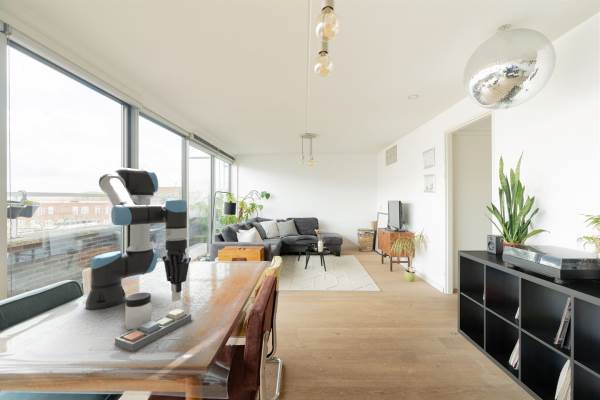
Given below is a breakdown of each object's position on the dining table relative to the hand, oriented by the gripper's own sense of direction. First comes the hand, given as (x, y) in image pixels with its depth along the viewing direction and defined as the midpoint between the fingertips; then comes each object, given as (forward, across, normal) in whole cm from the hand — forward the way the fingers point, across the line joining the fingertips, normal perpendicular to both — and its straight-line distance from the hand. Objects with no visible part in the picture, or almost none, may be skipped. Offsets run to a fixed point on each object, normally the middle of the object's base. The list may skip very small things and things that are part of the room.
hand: (176, 300), depth 98 cm
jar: (+10, -12, -7) cm, 17 cm away
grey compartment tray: (+10, 0, -8) cm, 13 cm away
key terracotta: (+8, 0, -16) cm, 18 cm away
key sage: (+8, 0, -5) cm, 9 cm away
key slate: (+7, 0, -11) cm, 13 cm away
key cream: (+7, 0, 0) cm, 7 cm away
